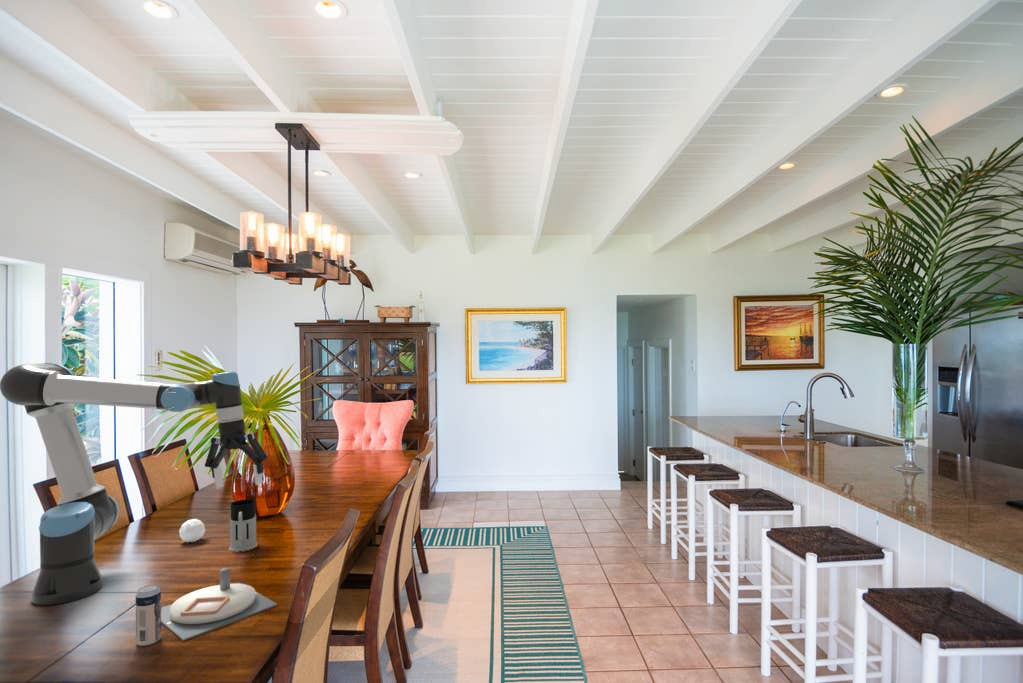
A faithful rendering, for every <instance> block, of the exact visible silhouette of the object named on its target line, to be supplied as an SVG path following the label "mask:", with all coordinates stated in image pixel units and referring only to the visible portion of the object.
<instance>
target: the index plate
mask: <svg viewBox="0 0 1023 683" xmlns="http://www.w3.org/2000/svg"><path fill="white" fill-rule="evenodd" d="M234 584H242V583H241V582H239V581H238V582H236V583H234ZM172 604H173V603H172ZM172 604H169V605H165V606H161V625H163V626H165V627H166V628H167V629H168V630H170V631H171V632H172V633H173V634H174V635H175V636H177V637H178V638H179V639H180V640H181V641H182V642H185V641H188V640H190V639H193V638H195V637H199V636H200V635H203V634H206V633H208V632H212V631H214V630H217V629H219V628H221V627H224V626H227V625H230V624H232V623H235V622H237V621H240V620H243V619H245V618H248V617H250V616H253V615H256V614H259V613H262V612H263V611H267V610H270V609H272V608H274V607H277V606H278V602H275V601H273V600H272V599H270V598H268V597H266V596H265V595H262V594H261V593H259V592H257V591H255V601H254V603H253V604H252V605H251V606H250V607H248V608H247V609H245V610H244V611H242V612H240V613H238V614H236V615H233V616H231V617H228V618H225V619H222V620H218V621H214V622H209V623H202V624H181V623H177V622H175V621H173V620H172V619H171V617H170V608H171V606H172Z"/></svg>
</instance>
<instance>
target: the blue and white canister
mask: <svg viewBox="0 0 1023 683" xmlns="http://www.w3.org/2000/svg"><path fill="white" fill-rule="evenodd" d="M161 608H162V590H161V588H160V587H159V585H157V584H150V585H146V586H142V587H140V588H139V589H138V590H137V591H136V594H135V643H136V645H137V646H140V647H149V646H151V645H153V644H156V643H157V642H159V641H160V640H161V638H162V623H161Z"/></svg>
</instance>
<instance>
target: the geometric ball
mask: <svg viewBox="0 0 1023 683" xmlns="http://www.w3.org/2000/svg"><path fill="white" fill-rule="evenodd" d="M178 532H179V537H180V539H181V540H182V541H183V542H186V543H189V542H191V543H194V542H197V540H198V541H199V540H200V539H201V538H203V536H204V534H205V532H206V527H205V524H204V523H203V521H201V520H200V519H197V518H193V519H188V520H186V521H185V522H184V523H182V524H181V527H180V528H179V530H178Z"/></svg>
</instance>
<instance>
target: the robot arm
mask: <svg viewBox="0 0 1023 683" xmlns="http://www.w3.org/2000/svg"><path fill="white" fill-rule="evenodd" d="M1 377H2V378H1V379H0V392H1V395H2V396H3V397H4V398H5V399H6V400H7V401H8V402H10V403H12V404H15V405H17V406H23V407H24V408H25V412H26V414H27V415H28V416H30V417H33V418H34V419H35V420H36V423H37V426H38V428H39V432H40V434H41V438H42V440H43V443H44V447H45V450H46V453H47V456H48V458H49V461H50V464H51V467H52V470H53V473H54V475H55V479H56V481H57V485H58V487H59V490H60V493H61V498H60V499H59V500H58V502H57V506H54V507H52V508H50V509H48V510H46V511H45V512H43V513H42V514H41V517H40V521H39V527H38V531H39V554H40V555H39V560H40V561H39V562H40V563H39V564H40V566H39V567H40V570H39V573H38V576H37V578H36V581H35V583H34V586H33V590H32V591H31V602H32V604H34V605H38V606H52V605H58V604H65V603H70V602H73V601H77V600H80V599H83V598H85V597H88V596H91V595H92V594H94V593H97V592H98V591H100V589H102V587H103V576H102V574H101V572H100V569H99V567H98V565H97V563H96V561H95V540H97V539H98V538H100V537H101V536H103V535H104V534H106V533H107V532H109V530H110V529H111V528H112V527H113V526H114V524H115V523H116V522H117V520H118V517H119V512H120V508H119V505H118V503H117V501H116V500H115V499H114V498H113V497H111V496H109V494H108V492H107V489H106V486H103V485H101V484H98V482H97V479H96V476H95V474H94V469H93V468H92V464H91V460H90V458H89V456H88V453H87V450H86V446H85V443H84V440H83V437H82V434H81V432H80V428H79V425H78V422H77V419H76V416H75V414H74V411H73V408H74V407H75V405H89V406H90V405H91V406H92V405H93V406H106V407H122V408H123V407H124V408H138V409H153V410H154V409H155V410H164V411H169V412H172V413H179V412H181V413H182V412H185V411H187V410H188V409H192V408H195V407H201V406H206V405H213V404H214V405H215V410H216V418H217V421H218V424H217V426H218V433H219V435H220V436H218V435H216V436H213V437H212V438H210V447H209V450H208V453H207V456H206V460H205V463H204V467H205V468H210V469H211V475H212V478H213V479H214V482H215V490H216V489H217V490H218V489H221V488H223V487H224V478H223V473H222V472H223V471H222V466H220V465H221V463H222V461H223V459H224V457H225V455H226V454H227V452H228V451H230V450H238V449H239V450H240V451H242V452H243V453H244V454H245V455H246V456H247V457H248V458H250V460H251V461H252V462H254V464H253V465H252V468H253V474H254V484H255V486H258V485H261V484H263V483H264V482H263V476H262V474H263V473H264V465H263V462H265V461H267V460H268V459H269V458H268V455H267V454H266V452H265V450H264V449H263V448H262V446H261V444H260V443H259V441H258V439H257V436H256V432H249V433H247V434H246V424H245V419H244V418H243V417H244V408H243V403H242V402H243V401H242V392H241V384H240V380H239V375H238V373H237V372H236V371H227V372H220V373H219V372H218V373H213V374H212V375H211V379H210V380H205V381H197V382H186V383H178V384H175V383H161V382H152V381H151V382H150V381H149V382H147V381H140V380H139V381H138V380H137V381H136V380H127V379H125V380H124V379H114V378H113V379H112V378H101V377H90V376H89V377H87V376H77V375H75V374H74V373H73V372H72V370H70V369H69V368H68V367H66V366H64V365H61V364H58V363H57V364H56V363H52V362H44V363H25V364H19V365H16V366H14V367H12V368H10V369H8V370H7V371H6V372H5V373H4V374H3V375H2V376H1ZM164 392H176V393H164ZM172 407H174V408H172ZM169 408H171V409H169ZM168 409H169V410H168ZM247 441H248V442H247ZM220 443H221V444H222V445H221V446H220ZM219 446H220V448H219Z"/></svg>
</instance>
